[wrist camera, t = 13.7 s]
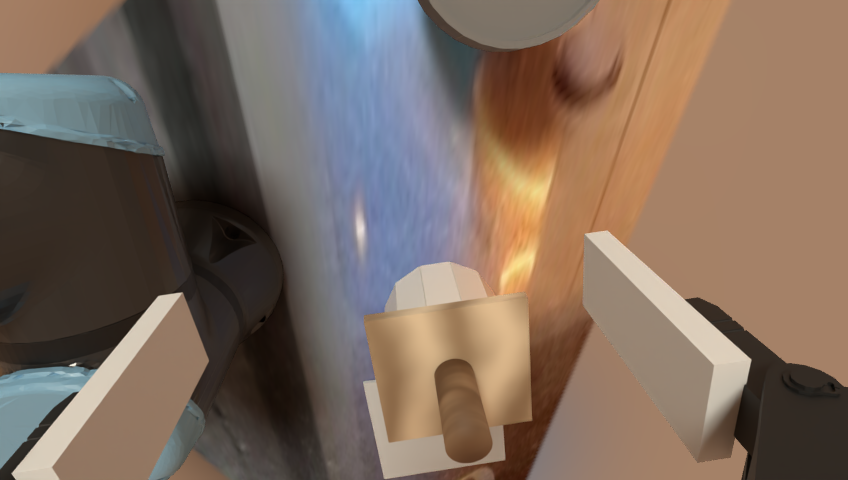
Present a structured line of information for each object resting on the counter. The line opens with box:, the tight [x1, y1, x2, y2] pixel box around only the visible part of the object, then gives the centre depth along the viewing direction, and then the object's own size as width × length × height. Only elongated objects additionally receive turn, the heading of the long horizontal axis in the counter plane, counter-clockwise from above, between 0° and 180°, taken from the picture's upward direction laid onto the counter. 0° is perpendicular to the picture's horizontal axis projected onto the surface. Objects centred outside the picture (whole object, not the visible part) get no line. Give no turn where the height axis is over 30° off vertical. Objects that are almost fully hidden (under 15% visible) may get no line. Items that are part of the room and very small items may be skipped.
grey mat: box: [363, 380, 505, 479], centre depth 59 cm, size 16×16×1 cm
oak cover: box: [364, 292, 532, 463], centre depth 40 cm, size 14×14×9 cm
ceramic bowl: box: [385, 262, 495, 312], centre depth 48 cm, size 12×12×10 cm
